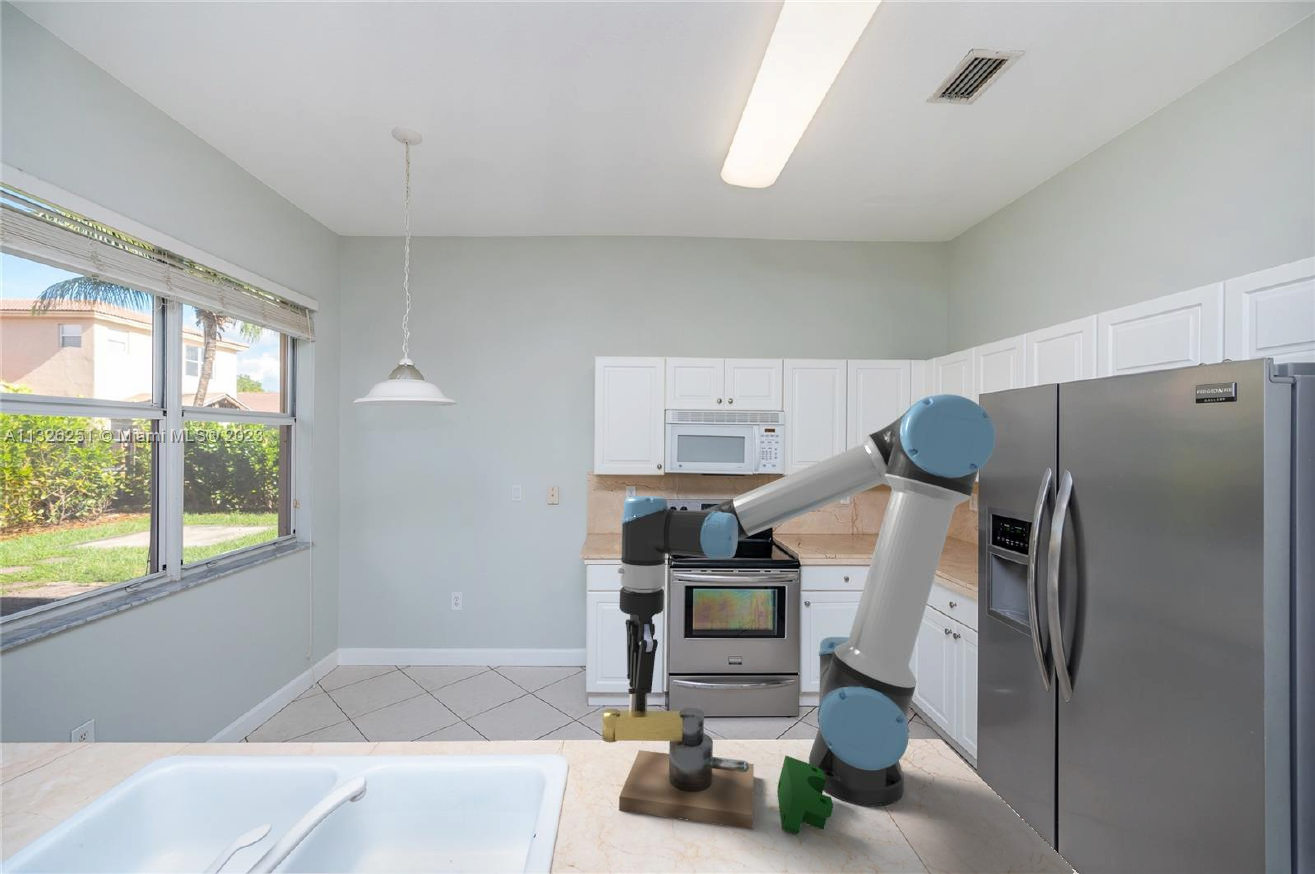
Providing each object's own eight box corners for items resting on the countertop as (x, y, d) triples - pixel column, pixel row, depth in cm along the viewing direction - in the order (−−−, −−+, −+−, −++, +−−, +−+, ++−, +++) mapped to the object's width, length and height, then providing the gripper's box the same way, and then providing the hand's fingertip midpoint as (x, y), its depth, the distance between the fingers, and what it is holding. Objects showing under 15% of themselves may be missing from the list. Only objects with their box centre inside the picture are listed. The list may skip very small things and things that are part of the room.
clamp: (816, 864, 77) (836, 823, 73) (775, 848, 78) (792, 807, 74) (813, 788, 88) (830, 749, 85) (777, 775, 89) (793, 736, 85)
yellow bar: (702, 733, 89) (702, 708, 89) (705, 745, 85) (705, 719, 85) (603, 732, 88) (603, 707, 88) (601, 744, 84) (602, 718, 84)
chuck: (749, 774, 88) (749, 737, 88) (748, 800, 81) (749, 758, 81) (672, 765, 90) (673, 728, 91) (665, 788, 83) (666, 748, 84)
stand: (753, 776, 91) (753, 764, 91) (752, 829, 77) (753, 814, 77) (638, 761, 95) (639, 750, 95) (618, 810, 81) (619, 796, 81)
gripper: (613, 579, 96) (608, 714, 95) (628, 597, 84) (623, 752, 82) (653, 578, 98) (649, 710, 97) (674, 595, 86) (669, 747, 84)
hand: (637, 729), depth 89 cm, fingers closed
